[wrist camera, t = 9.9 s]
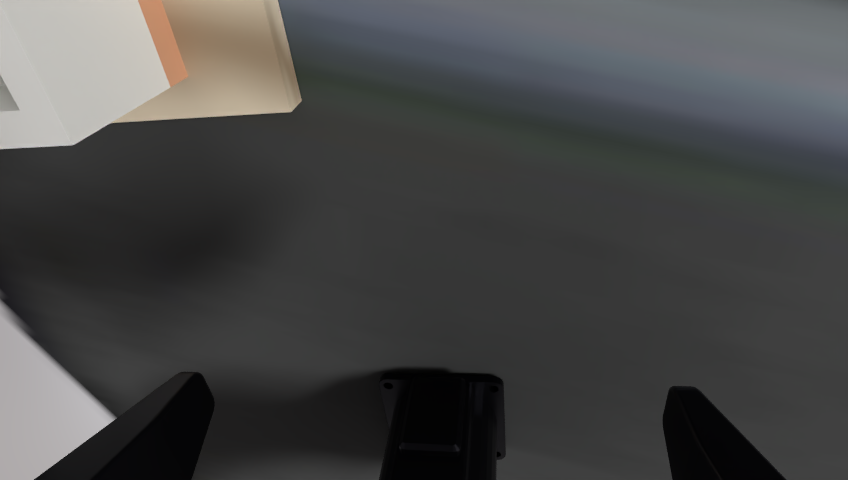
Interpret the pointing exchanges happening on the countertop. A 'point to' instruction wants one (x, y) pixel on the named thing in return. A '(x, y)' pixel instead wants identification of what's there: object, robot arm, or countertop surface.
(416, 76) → the countertop surface
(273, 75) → the pin board
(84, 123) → the banded sleeve
